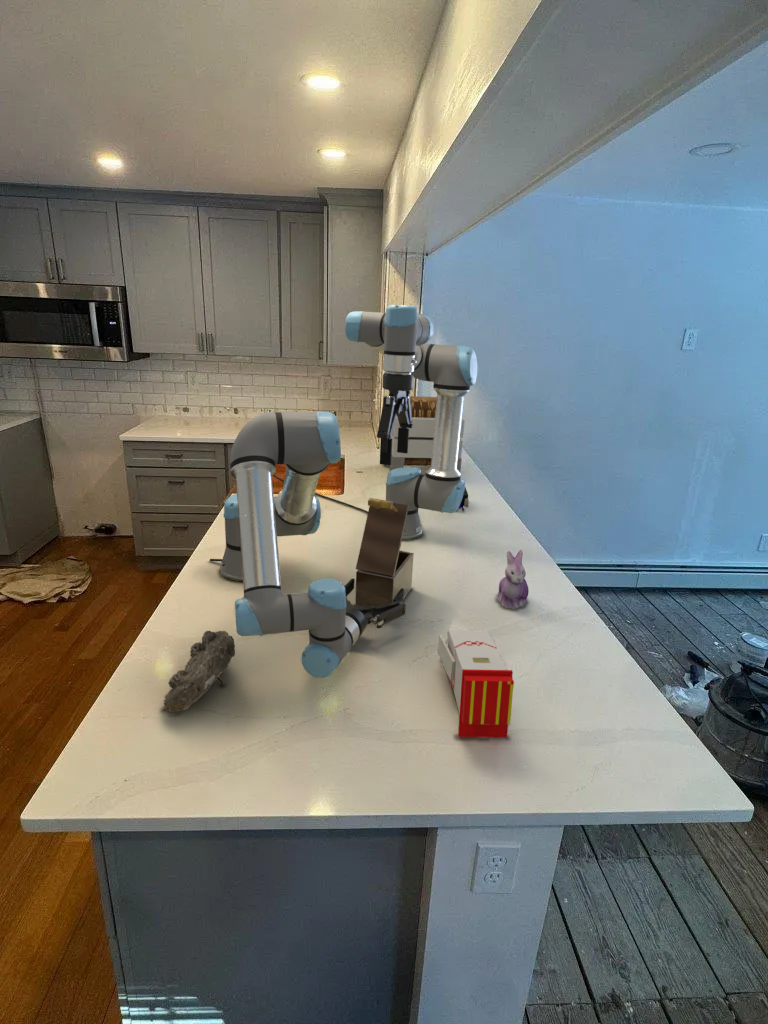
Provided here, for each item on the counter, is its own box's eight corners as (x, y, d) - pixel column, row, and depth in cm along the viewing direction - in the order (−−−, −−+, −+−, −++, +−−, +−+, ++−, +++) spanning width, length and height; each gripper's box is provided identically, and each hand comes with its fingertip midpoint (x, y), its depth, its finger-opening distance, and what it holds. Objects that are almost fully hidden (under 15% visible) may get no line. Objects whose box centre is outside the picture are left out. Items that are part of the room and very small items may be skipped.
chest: (378, 581, 164) (379, 546, 161) (411, 588, 161) (413, 553, 158) (355, 609, 149) (356, 571, 145) (391, 617, 146) (393, 579, 142)
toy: (488, 613, 130) (523, 677, 101) (484, 667, 133) (517, 744, 104) (435, 612, 130) (455, 676, 101) (432, 666, 133) (451, 743, 103)
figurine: (511, 613, 150) (518, 561, 145) (487, 596, 158) (493, 547, 153) (538, 606, 154) (546, 556, 149) (513, 590, 163) (520, 542, 157)
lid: (372, 500, 148) (361, 491, 140) (409, 506, 145) (400, 497, 137) (357, 569, 145) (345, 564, 137) (394, 576, 142) (384, 572, 134)
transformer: (382, 463, 289) (386, 382, 275) (445, 464, 293) (451, 384, 279) (390, 482, 257) (394, 392, 243) (460, 483, 261) (468, 394, 247)
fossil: (188, 633, 127) (235, 602, 122) (218, 661, 130) (265, 632, 125) (141, 705, 107) (195, 672, 102) (177, 737, 110) (232, 706, 105)
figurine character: (468, 516, 224) (463, 500, 237) (471, 498, 221) (465, 483, 234) (452, 515, 224) (447, 499, 237) (453, 498, 220) (449, 482, 234)
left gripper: (296, 630, 133) (333, 591, 152) (396, 654, 126) (422, 610, 145) (295, 602, 131) (333, 566, 150) (398, 625, 123) (424, 584, 142)
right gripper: (397, 379, 124) (392, 472, 132) (427, 369, 147) (421, 449, 154) (365, 376, 127) (362, 468, 134) (399, 367, 149) (395, 446, 156)
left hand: (377, 588), depth 147 cm, fingers open, 13 cm apart
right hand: (394, 458), depth 144 cm, fingers open, 13 cm apart
